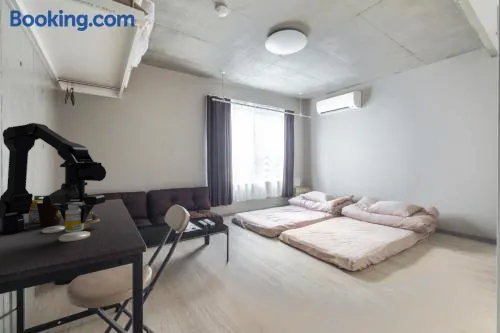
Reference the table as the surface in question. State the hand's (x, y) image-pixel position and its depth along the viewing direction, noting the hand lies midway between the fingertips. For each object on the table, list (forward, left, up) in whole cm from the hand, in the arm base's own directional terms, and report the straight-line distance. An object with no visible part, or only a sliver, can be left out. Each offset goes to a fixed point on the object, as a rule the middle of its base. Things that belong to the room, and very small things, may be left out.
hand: (74, 223), depth 82 cm
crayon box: (-30, +19, -6) cm, 36 cm away
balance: (-7, +11, -5) cm, 14 cm away
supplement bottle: (0, 0, -3) cm, 3 cm away
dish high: (-14, +7, -5) cm, 17 cm away
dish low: (0, 0, -5) cm, 5 cm away
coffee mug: (-22, +17, -5) cm, 28 cm away
